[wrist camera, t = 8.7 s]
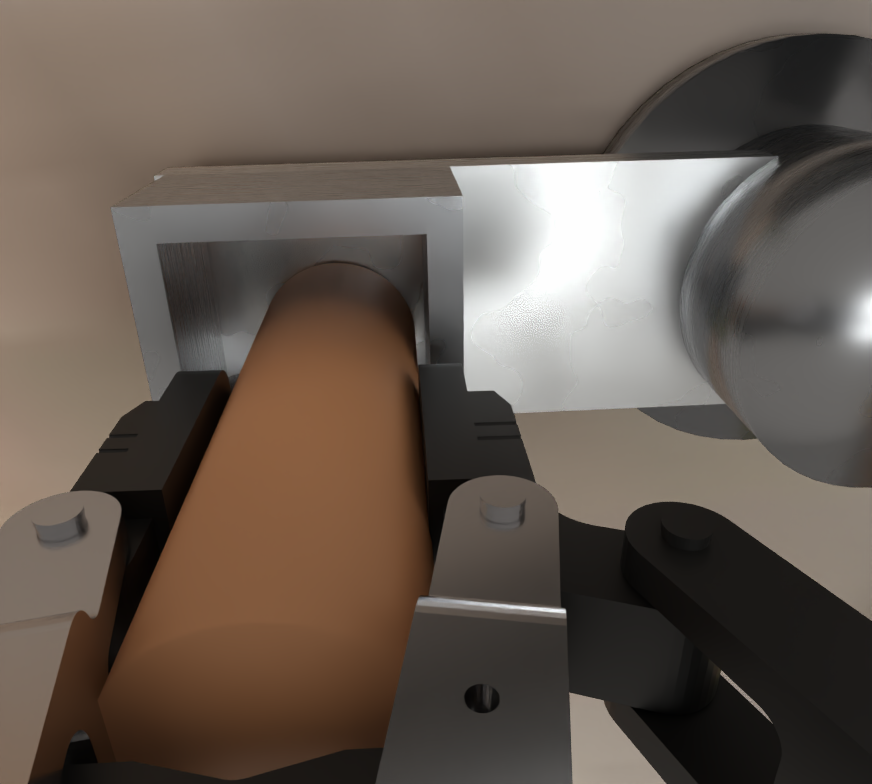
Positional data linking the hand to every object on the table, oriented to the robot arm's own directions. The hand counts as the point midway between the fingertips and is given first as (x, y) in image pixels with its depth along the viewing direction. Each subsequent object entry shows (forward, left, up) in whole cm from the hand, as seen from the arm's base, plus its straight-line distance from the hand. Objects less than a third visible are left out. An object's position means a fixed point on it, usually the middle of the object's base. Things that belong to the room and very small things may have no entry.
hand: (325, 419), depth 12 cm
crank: (-5, -1, -6) cm, 8 cm away
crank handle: (0, 0, -4) cm, 4 cm away
